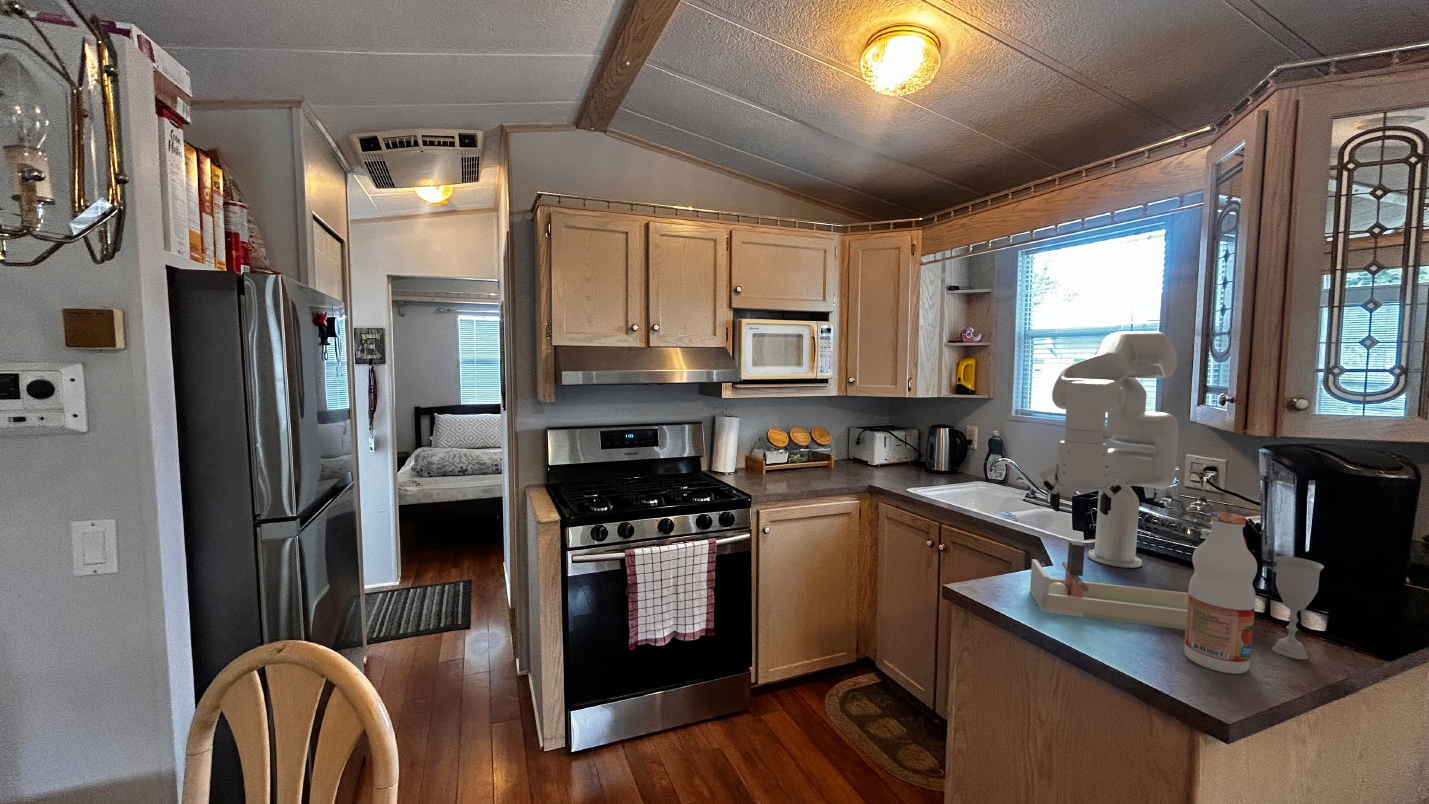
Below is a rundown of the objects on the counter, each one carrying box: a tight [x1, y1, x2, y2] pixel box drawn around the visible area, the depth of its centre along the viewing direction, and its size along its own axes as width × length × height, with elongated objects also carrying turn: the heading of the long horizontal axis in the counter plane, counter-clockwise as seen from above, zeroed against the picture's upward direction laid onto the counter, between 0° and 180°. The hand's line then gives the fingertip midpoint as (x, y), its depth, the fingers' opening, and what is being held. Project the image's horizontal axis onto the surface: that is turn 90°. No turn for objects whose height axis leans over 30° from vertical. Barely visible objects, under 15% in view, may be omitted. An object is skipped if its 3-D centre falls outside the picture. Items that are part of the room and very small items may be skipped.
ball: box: [1049, 582, 1069, 596], centre depth 136 cm, size 4×4×4 cm
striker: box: [1061, 540, 1089, 597], centre depth 135 cm, size 16×2×13 cm, turn 163°
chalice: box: [1271, 555, 1325, 660], centre depth 114 cm, size 7×7×18 cm
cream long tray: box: [1029, 558, 1188, 631], centre depth 133 cm, size 12×32×8 cm, turn 73°
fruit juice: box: [1183, 511, 1258, 675], centre depth 110 cm, size 9×9×28 cm
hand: (1079, 511), depth 134 cm, fingers open, 9 cm apart
